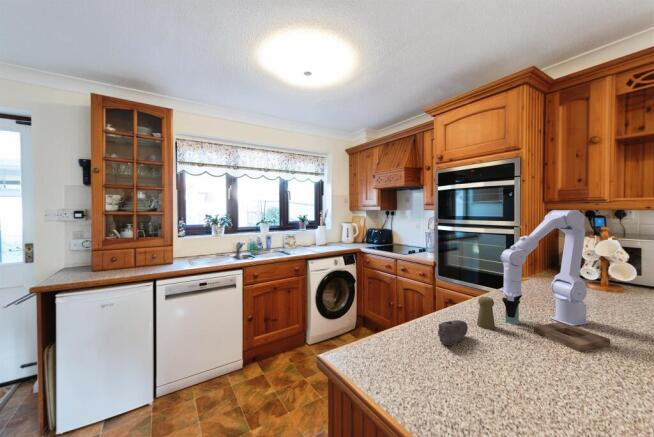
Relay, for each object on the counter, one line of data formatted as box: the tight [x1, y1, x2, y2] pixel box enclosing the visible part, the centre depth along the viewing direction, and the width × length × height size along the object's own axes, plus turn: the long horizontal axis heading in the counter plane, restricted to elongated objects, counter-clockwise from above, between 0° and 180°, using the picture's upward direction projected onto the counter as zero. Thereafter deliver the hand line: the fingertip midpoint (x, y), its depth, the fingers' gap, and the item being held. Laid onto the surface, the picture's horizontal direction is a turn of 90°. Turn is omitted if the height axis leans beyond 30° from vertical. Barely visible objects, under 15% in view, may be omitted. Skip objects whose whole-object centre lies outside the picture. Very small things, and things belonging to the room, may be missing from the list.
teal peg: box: [505, 304, 520, 326], centre depth 104 cm, size 4×4×7 cm
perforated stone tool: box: [437, 319, 469, 346], centre depth 90 cm, size 15×5×7 cm, turn 120°
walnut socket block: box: [533, 321, 611, 353], centre depth 90 cm, size 14×14×2 cm
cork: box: [476, 296, 496, 330], centre depth 101 cm, size 6×6×11 cm
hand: (512, 314), depth 104 cm, fingers open, 7 cm apart
